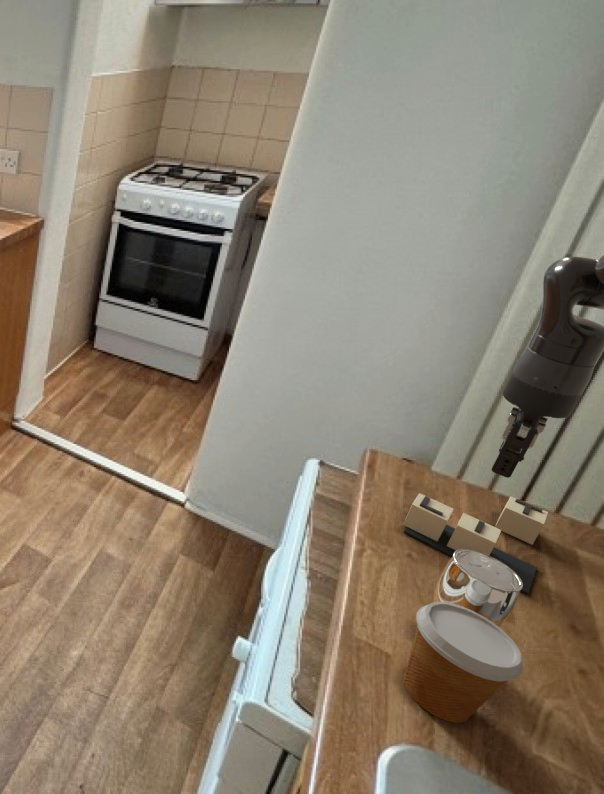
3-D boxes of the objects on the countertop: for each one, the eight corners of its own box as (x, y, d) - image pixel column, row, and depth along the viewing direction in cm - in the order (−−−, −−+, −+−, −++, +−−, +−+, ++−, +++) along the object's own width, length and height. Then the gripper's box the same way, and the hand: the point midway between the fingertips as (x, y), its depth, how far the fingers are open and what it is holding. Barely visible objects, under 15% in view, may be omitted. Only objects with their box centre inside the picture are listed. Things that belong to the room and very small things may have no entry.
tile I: (490, 551, 99) (502, 528, 98) (484, 564, 97) (496, 541, 95) (453, 533, 103) (464, 511, 101) (446, 546, 100) (457, 523, 98)
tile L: (444, 529, 104) (454, 507, 102) (437, 541, 101) (448, 519, 99) (409, 513, 107) (419, 491, 105) (402, 524, 104) (412, 502, 103)
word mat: (536, 569, 97) (537, 567, 96) (527, 595, 92) (528, 593, 92) (416, 512, 108) (416, 510, 108) (403, 532, 103) (404, 530, 103)
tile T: (536, 532, 104) (549, 510, 102) (532, 545, 101) (545, 522, 99) (499, 516, 107) (511, 494, 105) (494, 527, 105) (506, 506, 103)
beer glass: (406, 644, 84) (447, 565, 79) (416, 615, 89) (455, 539, 83) (474, 683, 79) (523, 602, 74) (481, 650, 84) (527, 572, 78)
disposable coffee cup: (369, 659, 82) (400, 596, 78) (440, 662, 82) (475, 599, 78) (428, 735, 73) (467, 669, 69) (508, 739, 73) (552, 674, 69)
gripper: (580, 408, 86) (531, 495, 92) (587, 375, 95) (542, 458, 101) (506, 384, 92) (465, 468, 98) (519, 356, 100) (480, 435, 106)
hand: (504, 463), depth 99 cm, fingers open, 8 cm apart
